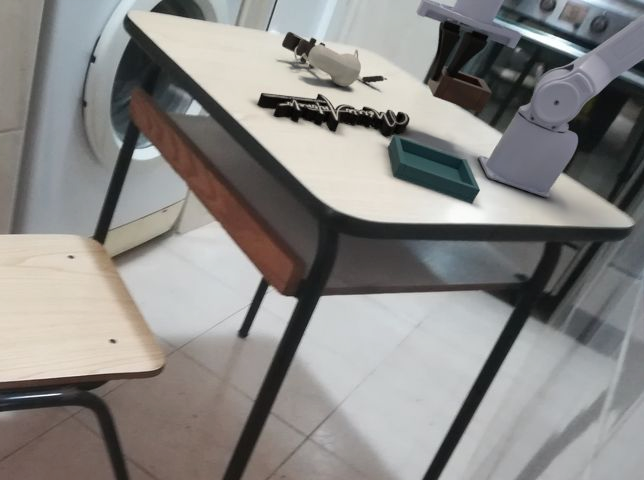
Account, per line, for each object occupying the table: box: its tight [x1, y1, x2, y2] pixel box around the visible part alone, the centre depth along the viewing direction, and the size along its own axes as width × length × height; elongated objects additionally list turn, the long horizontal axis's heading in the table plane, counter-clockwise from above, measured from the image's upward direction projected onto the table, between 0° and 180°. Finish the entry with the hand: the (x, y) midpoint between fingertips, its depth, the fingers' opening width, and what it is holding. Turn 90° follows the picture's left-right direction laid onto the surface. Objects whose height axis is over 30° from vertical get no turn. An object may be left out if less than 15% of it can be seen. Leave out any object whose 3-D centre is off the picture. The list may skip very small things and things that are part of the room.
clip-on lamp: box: [281, 31, 388, 87], centre depth 115 cm, size 12×6×18 cm
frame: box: [427, 65, 493, 114], centre depth 99 cm, size 8×7×3 cm
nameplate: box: [257, 92, 410, 138], centre depth 100 cm, size 28×2×10 cm
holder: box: [387, 134, 481, 204], centre depth 92 cm, size 11×11×2 cm
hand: (438, 81), depth 99 cm, fingers closed on frame
